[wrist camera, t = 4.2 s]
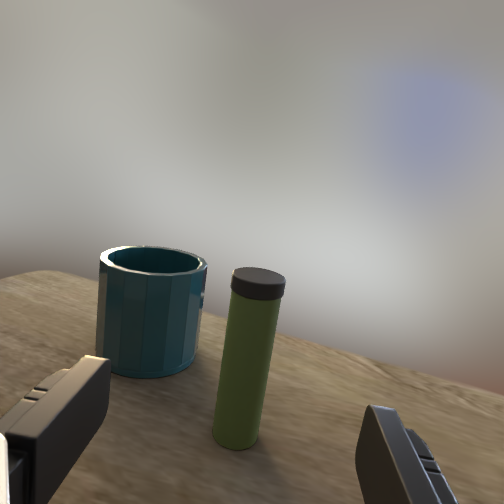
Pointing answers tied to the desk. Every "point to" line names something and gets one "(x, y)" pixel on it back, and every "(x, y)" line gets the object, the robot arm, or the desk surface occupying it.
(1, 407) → the desk surface
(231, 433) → the tube
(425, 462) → the robot arm
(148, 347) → the cup
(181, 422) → the desk surface
